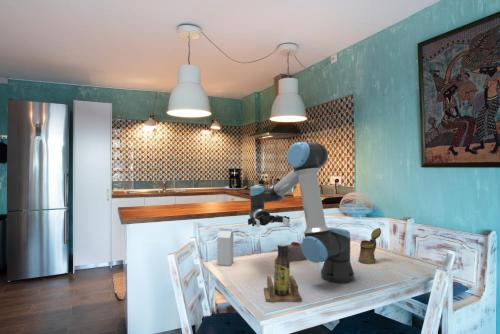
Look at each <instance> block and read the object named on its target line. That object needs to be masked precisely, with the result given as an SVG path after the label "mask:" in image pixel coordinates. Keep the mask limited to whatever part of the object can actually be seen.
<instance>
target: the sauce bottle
mask: <svg viewBox="0 0 500 334" xmlns="http://www.w3.org/2000/svg"><path fill="white" fill-rule="evenodd" d="M288 245H289V244H287V243H278V244H277V257H275V260H274V267H273V268H274V269H273V270H274V271H273V272H274V273H273V277H274V278H273V286H274V292H275V293H276V294H278V295H287V294H288V293H289V278H290V276H291V275H290V274H291V273H290V272H291V271H290V269H291V268H290V267H291V266H290V265H291V263H290V262H291V261H289V259H288V257H287V246H288Z"/></svg>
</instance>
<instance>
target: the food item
mask: <svg viewBox="0 0 500 334" xmlns="http://www.w3.org/2000/svg"><path fill="white" fill-rule="evenodd" d="M301 243H302V242H300V243H299V242H297V241H292V242H290V244H287V245H288V246H287V257H288V259H289V261H290V262H294V261H296V262H298V261H301V260H304V259H305V260H306V259H307V258H306V257H305V256H304V254H303V252H302V249H301Z"/></svg>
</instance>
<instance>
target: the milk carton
mask: <svg viewBox="0 0 500 334" xmlns="http://www.w3.org/2000/svg"><path fill="white" fill-rule="evenodd" d="M216 237H217V238H216V240H217V242H216V243H217V245H216V249H217V251H216V253H217V255H216V256H217V259H216V261H217V266H226V267H227V266H231V265H232V264H233V263H234V232H233V229H232V228H218V233H217V236H216Z"/></svg>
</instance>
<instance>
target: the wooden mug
mask: <svg viewBox="0 0 500 334" xmlns="http://www.w3.org/2000/svg"><path fill="white" fill-rule="evenodd" d="M381 234H382V229H381V228H380V227H379V228H375V229H373V231H372V232H371V235H370V236H371V239H369V240H365V239H364V240H363V239H362V240H361V241H360V245H359V247H360V250H359V257H358V260H357V261H358V262H359V263H361V264H366V265H374V264H376V263H375V262H376V258H375V251H376V249H377V239H379V237H380V236H381ZM373 263H374V264H373Z"/></svg>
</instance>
